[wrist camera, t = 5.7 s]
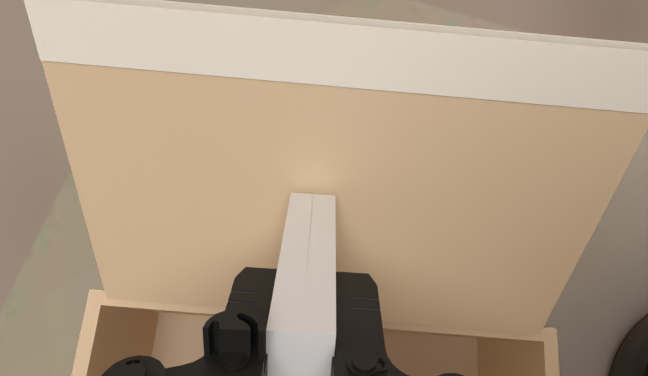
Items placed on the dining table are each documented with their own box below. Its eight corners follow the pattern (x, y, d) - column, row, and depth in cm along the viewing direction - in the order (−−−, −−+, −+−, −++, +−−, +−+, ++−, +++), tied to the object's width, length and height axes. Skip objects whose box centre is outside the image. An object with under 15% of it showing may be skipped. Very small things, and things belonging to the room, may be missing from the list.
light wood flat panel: (534, 321, 21) (674, 46, 14) (540, 335, 20) (688, 54, 13) (112, 286, 21) (36, -11, 14) (106, 299, 20) (22, -5, 13)
